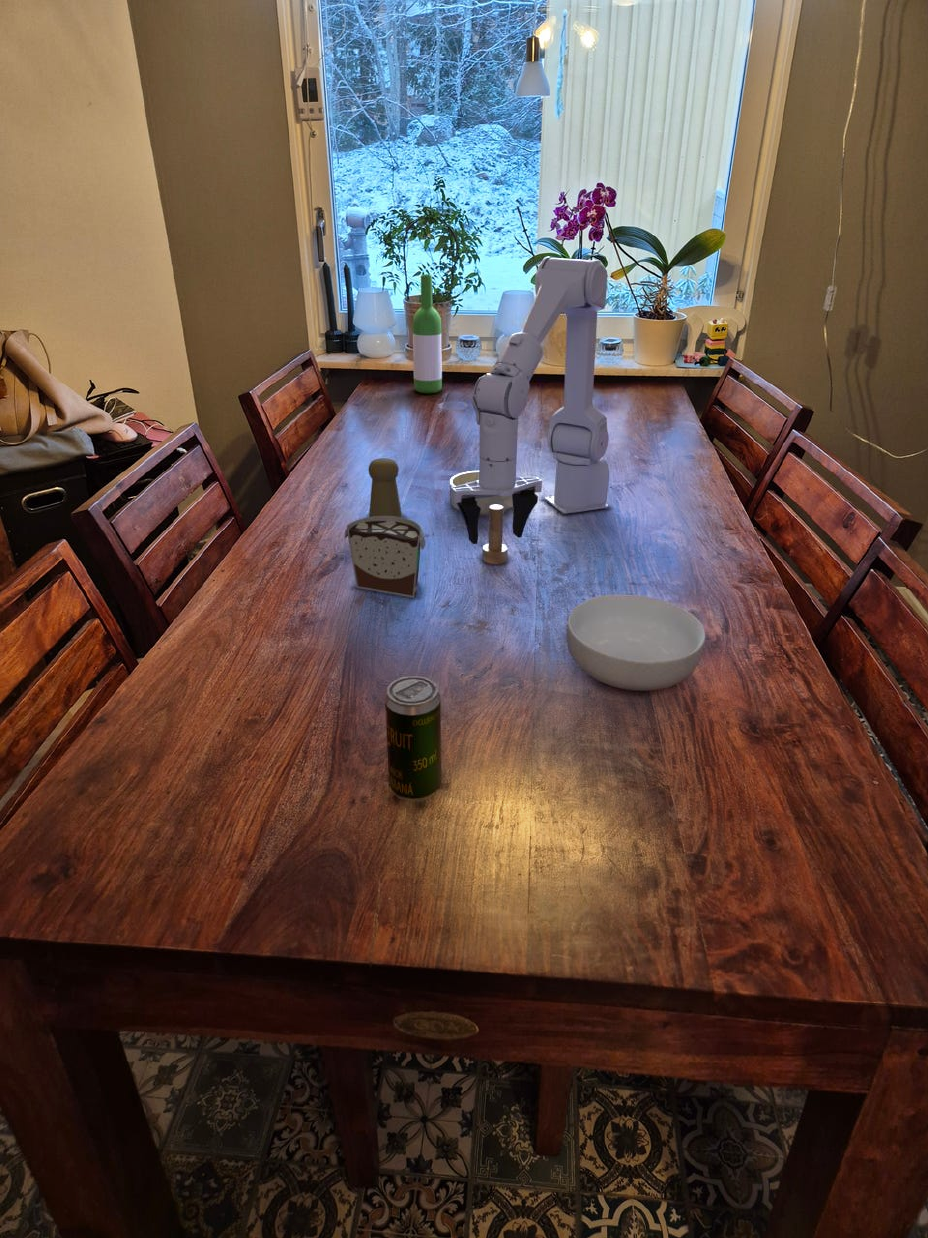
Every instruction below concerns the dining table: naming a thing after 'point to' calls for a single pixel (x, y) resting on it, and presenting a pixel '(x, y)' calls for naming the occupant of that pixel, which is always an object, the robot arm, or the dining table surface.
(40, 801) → the dining table surface
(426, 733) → the green soda can
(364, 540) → the food container
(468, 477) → the beige round dish
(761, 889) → the dining table surface
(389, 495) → the cork
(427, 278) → the wine bottle
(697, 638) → the cereal bowl
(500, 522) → the pestle
